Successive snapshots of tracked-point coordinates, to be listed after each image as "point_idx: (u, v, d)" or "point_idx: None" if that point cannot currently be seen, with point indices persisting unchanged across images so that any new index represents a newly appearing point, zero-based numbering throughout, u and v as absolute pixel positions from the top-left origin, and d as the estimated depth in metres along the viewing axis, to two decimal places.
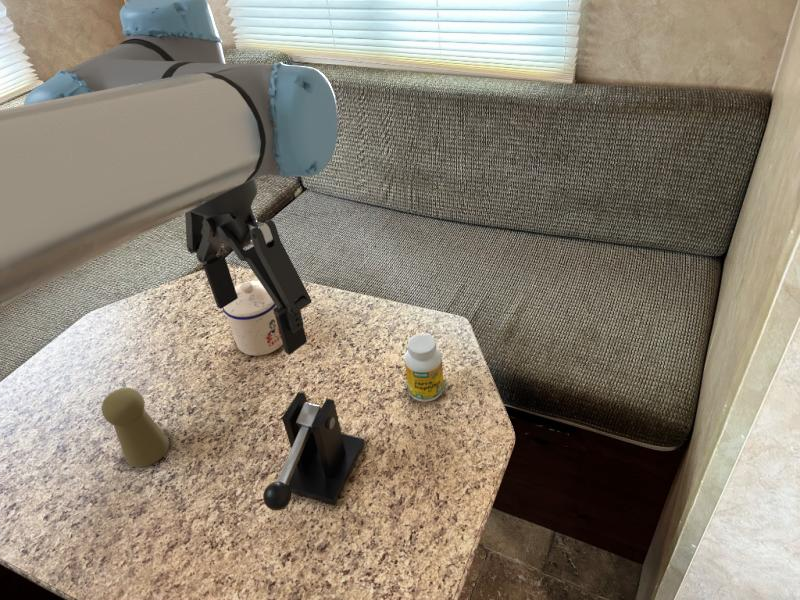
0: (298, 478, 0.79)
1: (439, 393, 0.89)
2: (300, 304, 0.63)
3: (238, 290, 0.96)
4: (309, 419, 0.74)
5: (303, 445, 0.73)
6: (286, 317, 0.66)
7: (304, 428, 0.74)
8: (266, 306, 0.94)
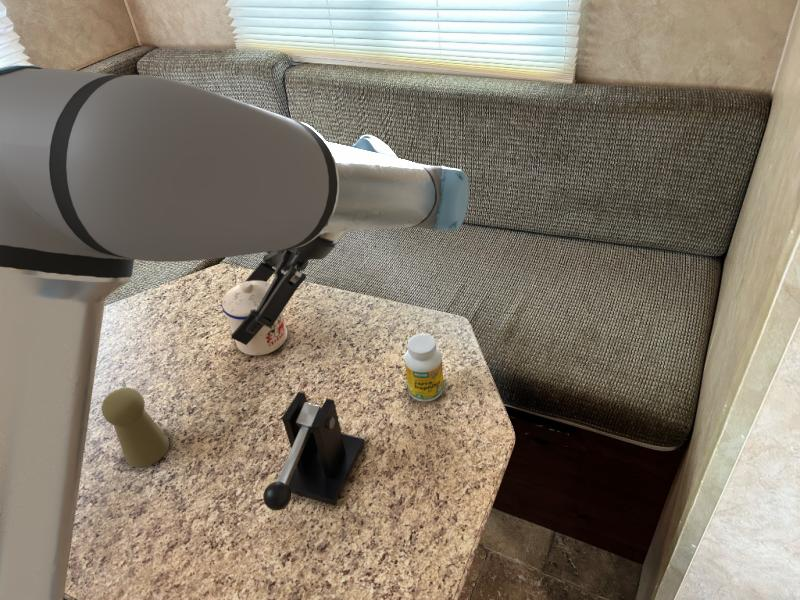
0: (298, 478, 0.79)
1: (439, 393, 0.89)
2: (264, 321, 0.90)
3: (238, 290, 0.96)
4: (309, 419, 0.74)
5: (303, 445, 0.73)
6: (253, 320, 0.93)
7: (304, 428, 0.74)
8: None
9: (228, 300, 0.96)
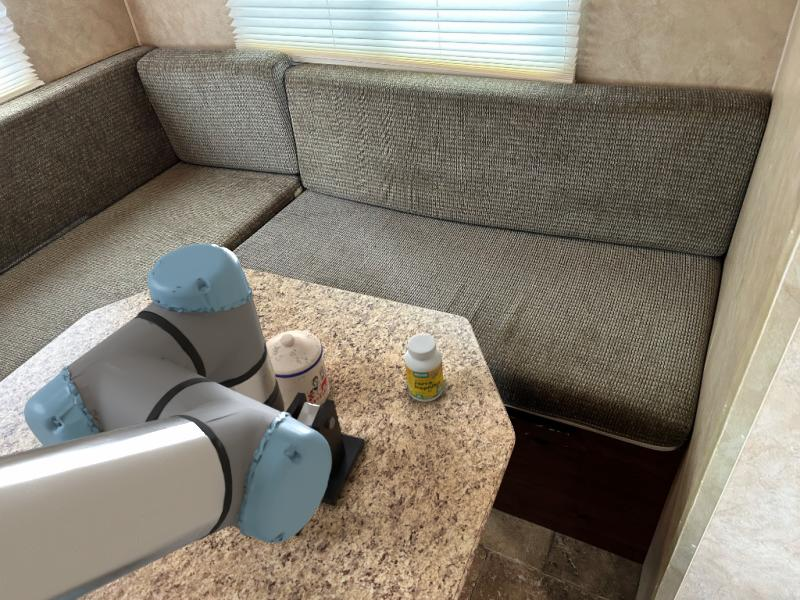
0: None
1: (439, 393, 0.89)
2: None
3: (277, 343, 0.85)
4: (309, 419, 0.74)
5: None
6: None
7: None
8: (309, 362, 0.84)
9: None
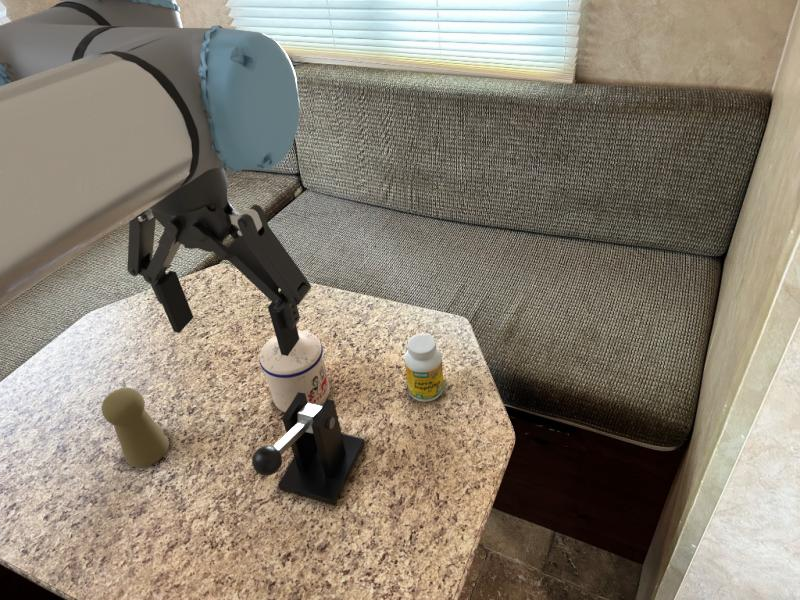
0: (298, 478, 0.79)
1: (439, 393, 0.89)
2: (303, 292, 0.58)
3: (277, 343, 0.85)
4: (312, 412, 0.74)
5: (300, 433, 0.72)
6: (282, 313, 0.60)
7: (304, 420, 0.74)
8: (309, 362, 0.84)
9: (266, 355, 0.85)
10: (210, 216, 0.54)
